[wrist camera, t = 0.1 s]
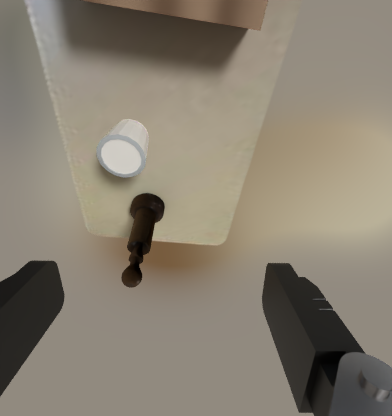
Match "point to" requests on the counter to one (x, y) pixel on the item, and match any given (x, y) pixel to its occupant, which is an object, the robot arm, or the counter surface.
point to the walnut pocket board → (202, 10)
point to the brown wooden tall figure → (141, 234)
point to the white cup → (124, 148)
